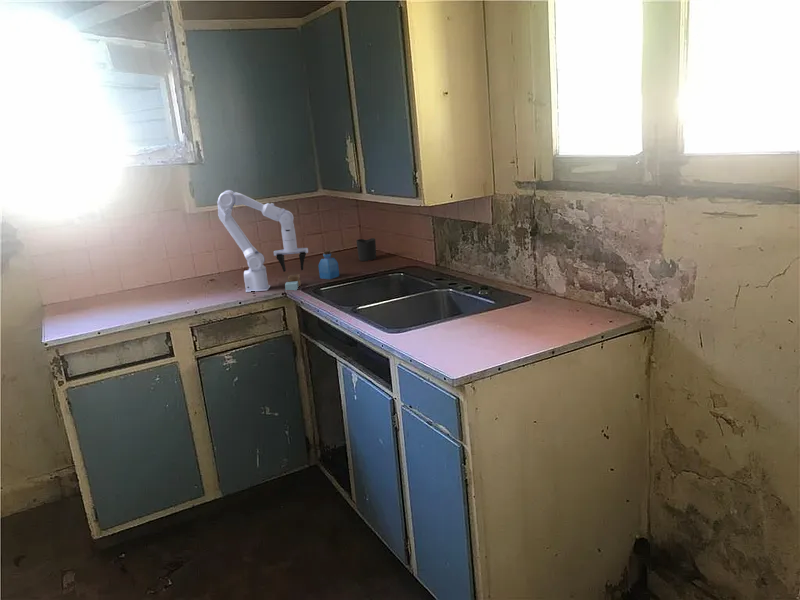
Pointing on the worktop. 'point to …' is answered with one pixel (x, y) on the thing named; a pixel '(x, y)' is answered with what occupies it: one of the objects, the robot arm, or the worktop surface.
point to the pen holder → (366, 249)
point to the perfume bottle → (328, 266)
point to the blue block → (291, 285)
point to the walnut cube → (294, 279)
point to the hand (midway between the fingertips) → (293, 270)
